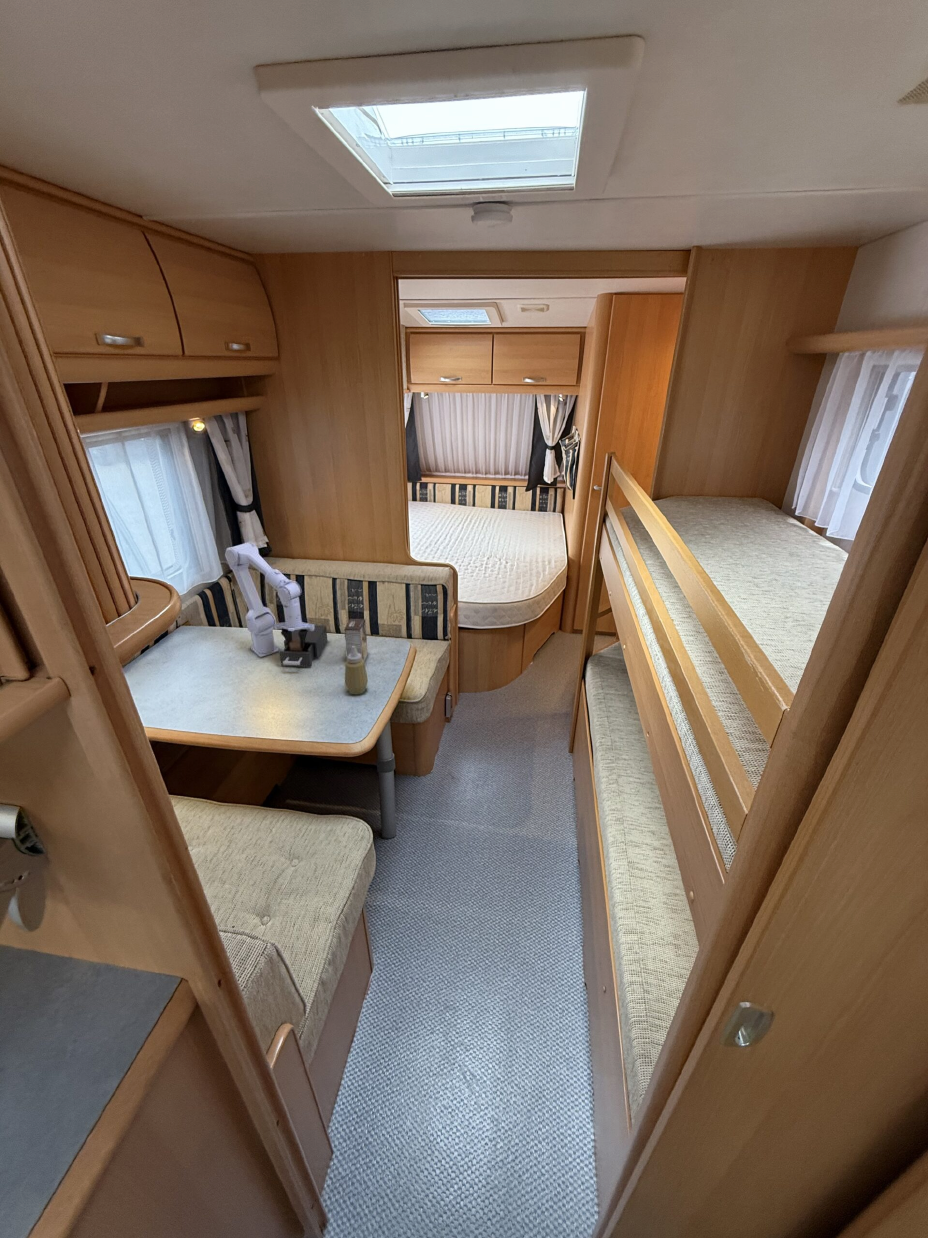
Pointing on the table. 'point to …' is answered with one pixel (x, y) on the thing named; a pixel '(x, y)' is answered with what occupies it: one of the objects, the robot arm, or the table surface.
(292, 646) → the block
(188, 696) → the table surface
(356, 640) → the coffee box
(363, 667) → the squeeze bottle
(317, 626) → the dark grey drawer box
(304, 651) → the drawer
